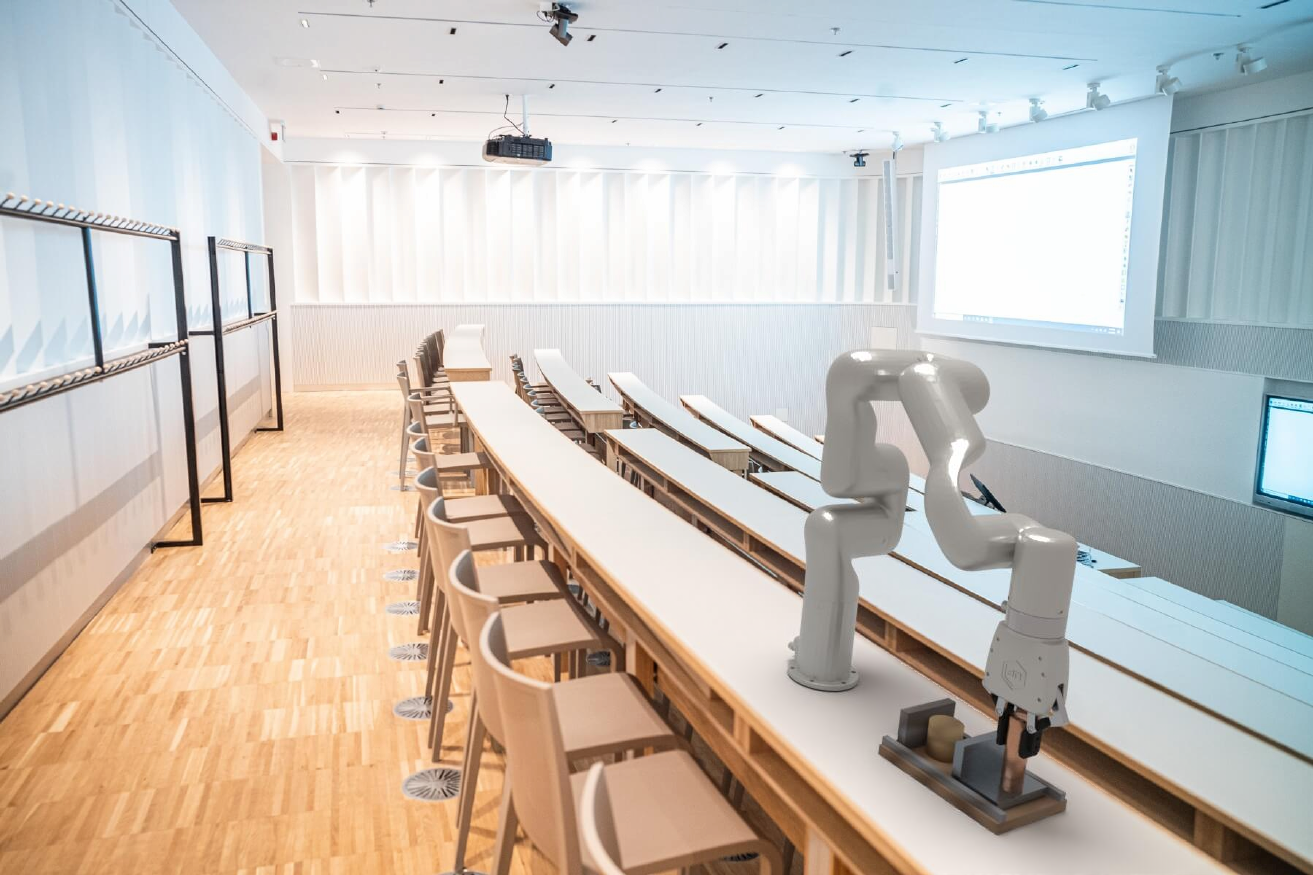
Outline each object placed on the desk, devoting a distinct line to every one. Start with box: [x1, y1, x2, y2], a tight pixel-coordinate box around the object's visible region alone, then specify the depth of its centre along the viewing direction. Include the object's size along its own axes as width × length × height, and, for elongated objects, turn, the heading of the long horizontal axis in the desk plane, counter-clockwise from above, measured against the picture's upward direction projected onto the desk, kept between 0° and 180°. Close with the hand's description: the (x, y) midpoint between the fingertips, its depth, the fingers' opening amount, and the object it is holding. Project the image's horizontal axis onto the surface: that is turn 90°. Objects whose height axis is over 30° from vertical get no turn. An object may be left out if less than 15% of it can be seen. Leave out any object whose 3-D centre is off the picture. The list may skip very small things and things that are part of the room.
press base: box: [877, 697, 1068, 836], centre depth 131 cm, size 22×14×8 cm, turn 30°
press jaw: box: [951, 711, 1047, 810], centre depth 126 cm, size 8×10×12 cm
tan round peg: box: [925, 715, 965, 763], centre depth 135 cm, size 5×5×5 cm
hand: (1016, 748), depth 124 cm, fingers closed on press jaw, 3 cm apart
